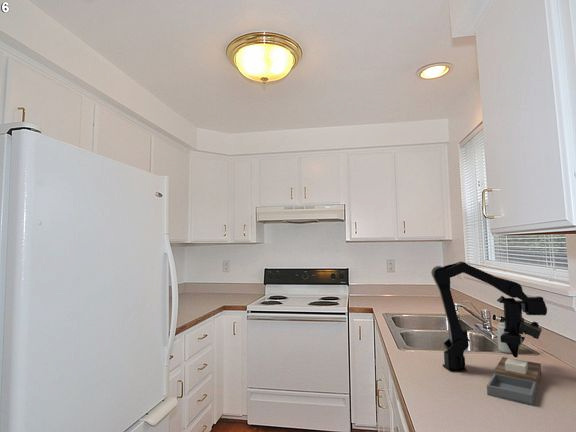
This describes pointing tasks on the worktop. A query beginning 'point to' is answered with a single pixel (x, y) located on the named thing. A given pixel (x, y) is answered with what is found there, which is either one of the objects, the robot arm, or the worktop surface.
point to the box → (512, 389)
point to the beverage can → (502, 346)
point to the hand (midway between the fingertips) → (515, 357)
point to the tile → (516, 365)
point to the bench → (531, 374)
